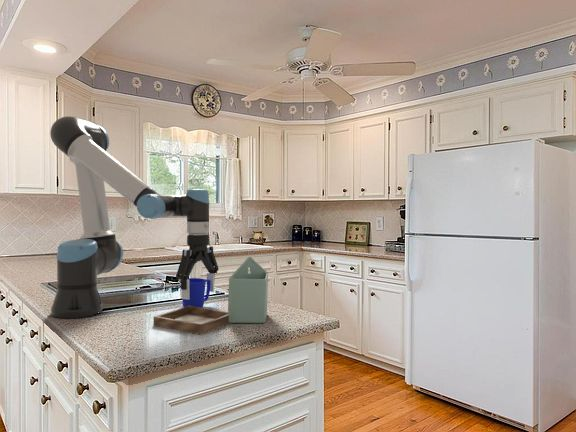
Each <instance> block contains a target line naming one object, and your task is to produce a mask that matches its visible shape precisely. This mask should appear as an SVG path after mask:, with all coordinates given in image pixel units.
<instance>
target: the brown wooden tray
mask: <svg viewBox="0 0 576 432" xmlns="http://www.w3.org/2000/svg"><path fill="white" fill-rule="evenodd" d="M152 322H153V326H155V327H161V328H165V329H171V330H175V329H176V331H180V330H181V331H180V332H185V331H187V332H186V333H190V332H192V333H191V334H195V333H198V334H197V335H200V334H203V335H205V334H207V333H206V332H208V331H210V332H212V331H214V330H213V329H215V330H216V328H217V329H219V328H222V327H224V326H226V325H228V323H229V322H228V311H225V310H218V309H214V308H213V309H211V308H206V307H203V308H201V307H195V306H185V307H183V306H182V307H179V308H177V309H173V310H171V311H167V312H165V313H161V314H157V315H155V316H153V321H152ZM229 324H230V323H229ZM223 325H224V326H223ZM221 326H222V327H221ZM218 327H219V328H218ZM211 330H212V331H211ZM204 333H205V334H204ZM208 333H209V332H208Z"/></svg>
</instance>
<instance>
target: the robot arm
mask: <svg viewBox="0 0 576 432" xmlns="http://www.w3.org/2000/svg"><path fill="white" fill-rule="evenodd" d="M49 133H50V139H51V142H52V143H53V144H54V146H55V147H56V148H57V149H59V151H61V152H62V153H63V154H64V155H66V156H67V157H68V158H69V161H70V162H71V163H73V164H74V165H75V173H76V179H77V180H76V181H77V187H78V188H77V189H78V197H79V204H80V211H81V219H82V220H81V221H82V227H83V229H82V230H83V233H82V235H81V236H80V237H79V238H77V239H70V240H66V241H64V242H62V243H60V244H59V245H58V247H57V254H56V261H57V262H56V263H57V269H56V270H57V271H56V273H57V274H56V275H57V281H56V283H57V286H56V287H57V289H56V290H57V291H56V294H55V297H54V299H53V303H52V305H51V308H50V315H51V316H52V317H54V318H58V319H78V318H79V319H80V318H87V317H91V316H95V315H94V314H96V313H98V312H101V311H102V310H103V308H104V307H103V302H102V299H101V295H100V293H99V292H100V291H99V290H98V275H102V274H107V273H109V272H111V271H113V270H115V269H116V268H118V266H120V264H121V263H122V260H123V259H124V249H123V247H122V245H121V244H120V243H119V241H118V240H117V237H116V233H115V232H114V231H113V230H111V227H110V219H109V210H108V204H107V196H106V187H105V186H106V185H105V183H106V184H107V185H109V186H110V187H111V188H113V190H115V191H116V192H117V193H118V194H120V195H121V196H122V197H124V198H125V200H127V201H129V202H130V203H131V204H132V205H133V206H134V207H136V209H137V212H138V214H139V215H140V216H141V217H142V218H145V219H150V220H151V219H152V220H153V219H155V220H156V219H159V218H169V217H174V218H175V217H176V218H177V217H181V218H182V217H183V218H185V217H186V233H187V235H186V245H187V246H188V248H189V249H182V252H181V253H182V254H181V259H180V262H179V265H178V268H177V272H176V275H175V278H176V279H178V280H180V289H181V300H182V299H187V300H189V299H190V289H189V280H187V279H188V278H190V274H191V273H192V270H193V269H194V267H195V265H196V264H197V263H198V262H200V261H201V262H202V264H203V266H204V267H205V268H206V270H207V273H206V280H210V281H211V283H210V293H215V280H216V279H215V274H218V271H219V266H218V262H217V259H216V257H215V253H214V246H212V245H210V234H209V233H210V196H209V194H210V193H209V191H208V190H207V189H202V188H201V189H200V188H196V189H195V188H193V189H191V188H189V189H187V190H186V193H185V194H159V193H158V192H157V191H156V190H154V189H153V188H151V186H149V185H148V184H147V183H146V182H144V181H143V180H142V179H140V178H139V177H138V176H137V175H136V174H134V173H133V172H132V171H130V170H129V169H128V168H127V167H126V166H124V165H123V164H121V163H120V162H119V161H118V160H117V159H116V158H114V157H113V156H112V155H110V154H109V153H108V151H107V150H108V149H109V146H110V137H109V134H108V133H107V131H106V130H105V129H104V128H103V127H102V126H100V125H99V124H97V123H96V122H93V121H89V120H85V119H81V118H79V117H76V116H67V115H66V116H62V117H59V118H58V119H57V120H55V121H54V122H53V123H52V125H51V126H50V132H49ZM102 312H103V311H102ZM102 312H101V313H102ZM96 315H97V314H96Z"/></svg>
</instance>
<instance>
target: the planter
mask: <svg viewBox="0 0 576 432" xmlns="http://www.w3.org/2000/svg"><path fill="white" fill-rule="evenodd" d="M268 287H269V273H268V271H267V270H265V269H264V267H263V266H261V265H260V264H259V263H257V261H256V260H255V259H254V258H253V257H252V256H250V255H249V256H248V257H247V258H246V259H245V260H244V261H243V262H242V264H240V266H238V268H237V269H236V270H235V271H234V272H233V273H232V275H231V276H229V278H228V298H227V299H228V301H227V302H228V304H227V306H228V310H227V312H228V322H229V324H231V323H232V324H235V323H237V324H238V323H239V324H241V323H242V324H243V323H244V324H264V323H266V320H267V315H268V314H267V313H268V290H269V289H268Z"/></svg>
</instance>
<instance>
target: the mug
mask: <svg viewBox="0 0 576 432" xmlns="http://www.w3.org/2000/svg"><path fill="white" fill-rule="evenodd" d="M187 280H189V289H190V299H189V300H187V299H182V298H181V300H182V307H185V306H195V307H201V308H204V303H205V302H207V301H208V299H209V297H210V293H211V292H210V283H211V281H210V280H207V279H205V278H201V277H188V279H187Z"/></svg>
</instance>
